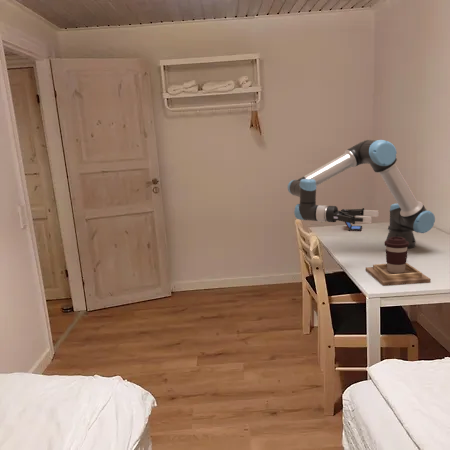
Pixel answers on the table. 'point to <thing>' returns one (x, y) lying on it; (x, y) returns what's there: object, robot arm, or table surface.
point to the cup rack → (397, 275)
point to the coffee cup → (396, 254)
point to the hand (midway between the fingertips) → (375, 217)
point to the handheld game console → (353, 227)
